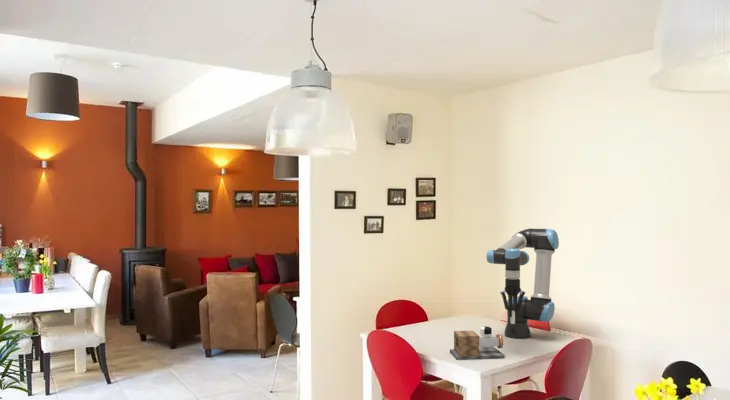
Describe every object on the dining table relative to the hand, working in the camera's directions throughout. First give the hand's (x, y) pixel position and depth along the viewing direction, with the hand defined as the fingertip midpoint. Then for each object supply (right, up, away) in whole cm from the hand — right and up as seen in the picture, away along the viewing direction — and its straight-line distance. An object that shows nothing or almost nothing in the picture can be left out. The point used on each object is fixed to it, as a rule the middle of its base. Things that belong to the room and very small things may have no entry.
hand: (512, 323), depth 285 cm
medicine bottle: (-12, -17, +10) cm, 23 cm away
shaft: (-15, -13, -1) cm, 20 cm away
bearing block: (-19, -16, -2) cm, 25 cm away
